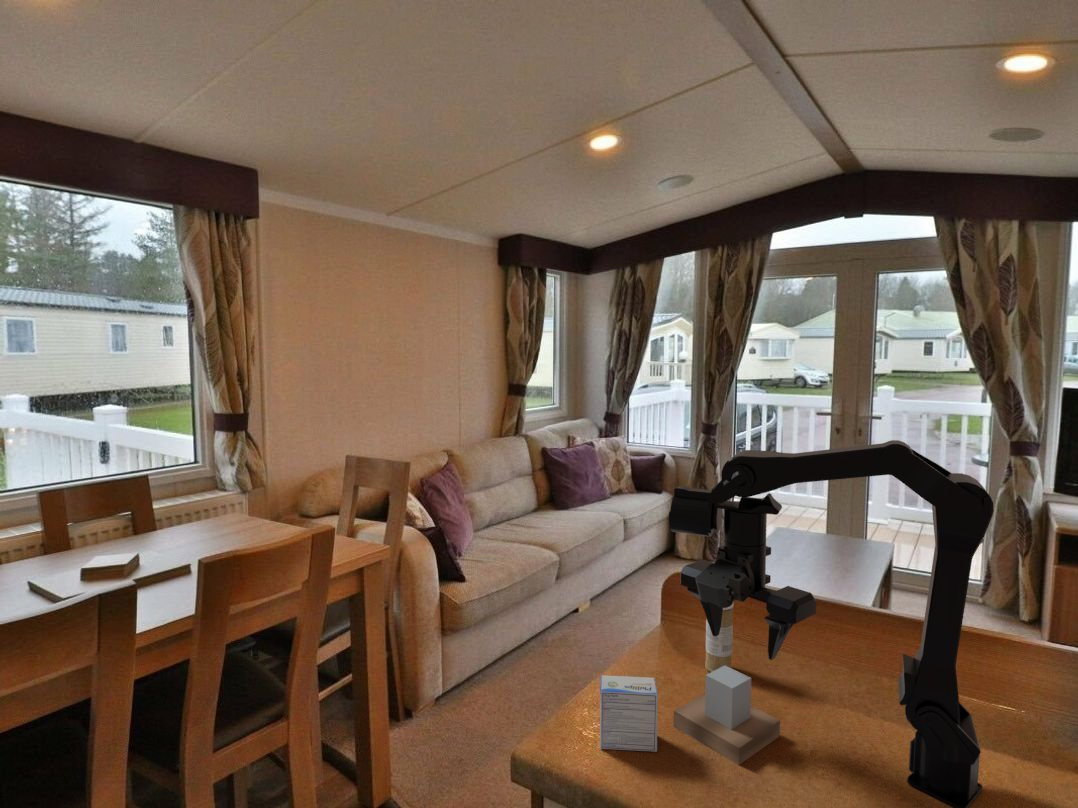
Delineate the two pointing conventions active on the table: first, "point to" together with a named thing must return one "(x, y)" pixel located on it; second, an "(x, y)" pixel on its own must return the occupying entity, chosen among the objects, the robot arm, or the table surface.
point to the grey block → (728, 696)
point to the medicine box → (628, 713)
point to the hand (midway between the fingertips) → (742, 646)
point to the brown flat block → (727, 731)
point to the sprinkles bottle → (720, 643)
